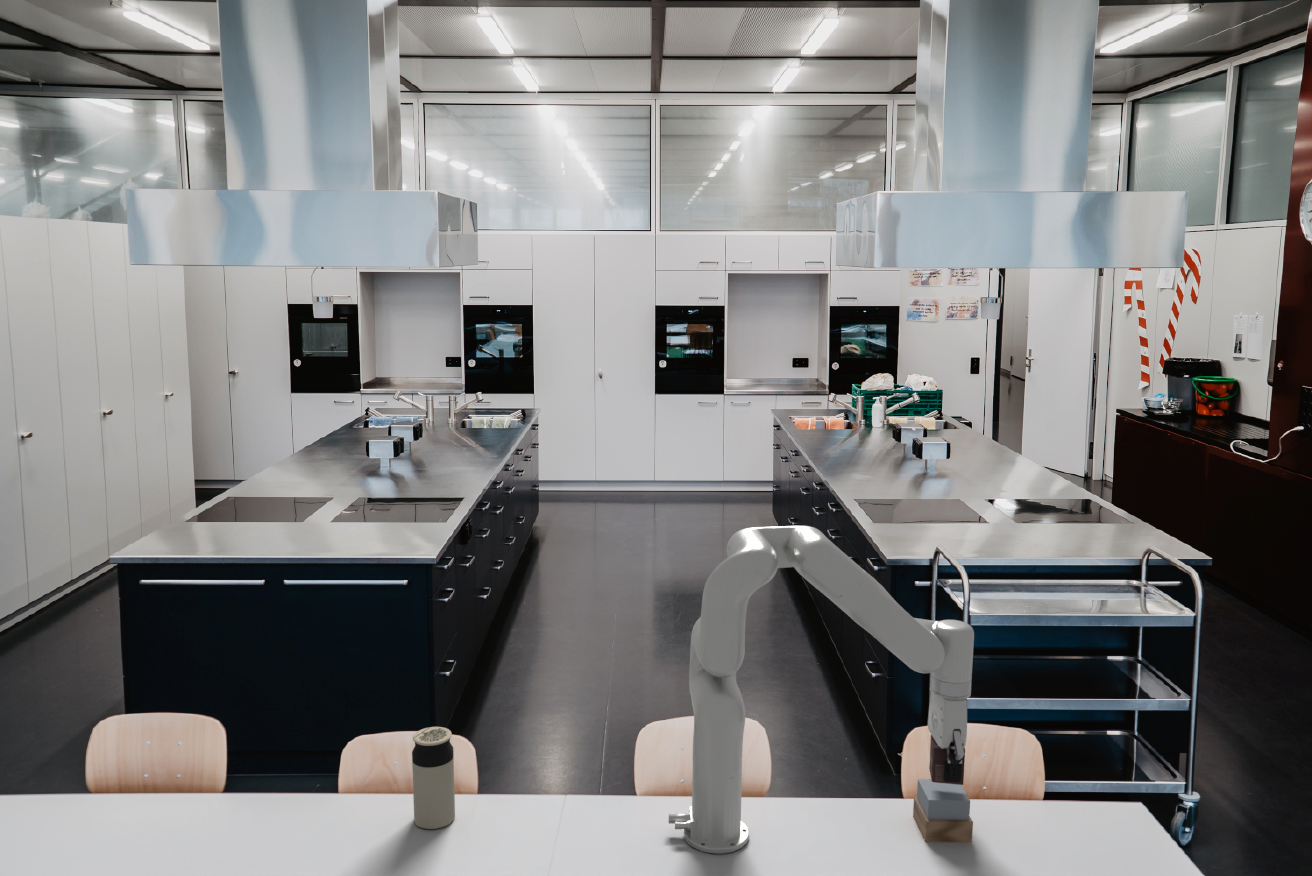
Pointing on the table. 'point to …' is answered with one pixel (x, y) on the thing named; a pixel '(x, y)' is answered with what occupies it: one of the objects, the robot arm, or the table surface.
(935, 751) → the box
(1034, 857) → the table surface
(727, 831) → the robot arm
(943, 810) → the tower top
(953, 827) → the tower base
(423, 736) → the travel mug
